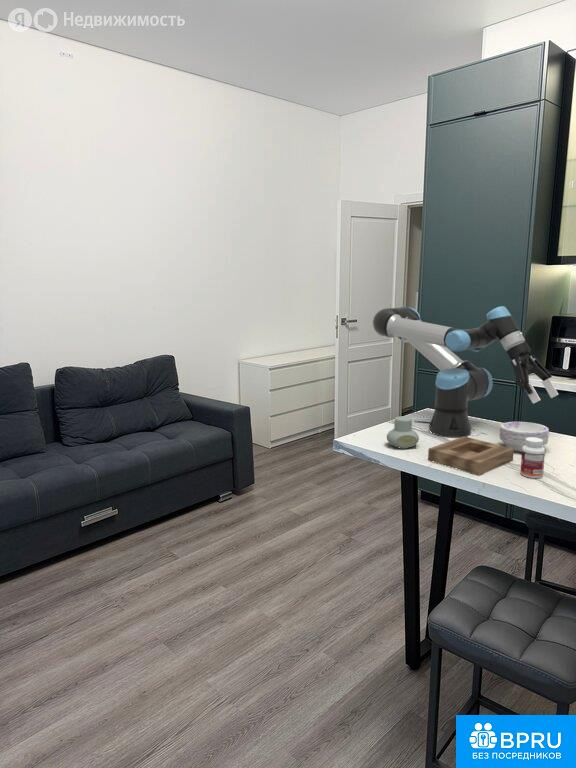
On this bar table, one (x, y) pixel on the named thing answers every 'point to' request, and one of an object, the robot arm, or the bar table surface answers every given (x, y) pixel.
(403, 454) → the bar table surface
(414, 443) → the air freshener
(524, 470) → the pill bottle
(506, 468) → the bar table surface
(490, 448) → the walnut holder
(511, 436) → the paper bowls
